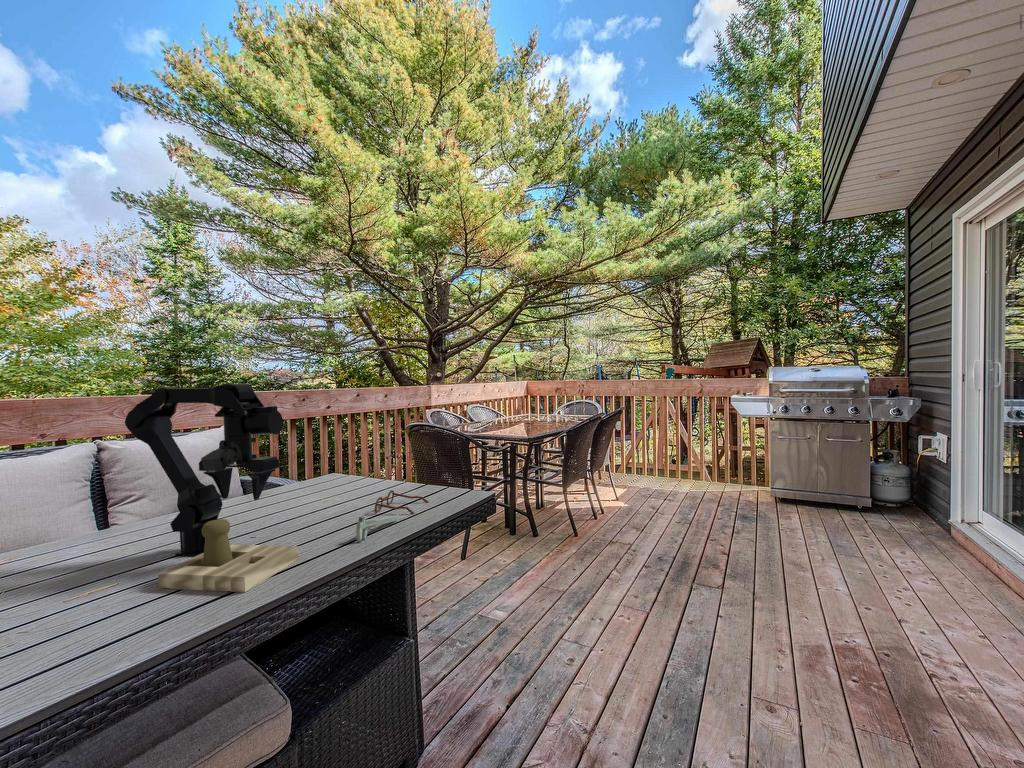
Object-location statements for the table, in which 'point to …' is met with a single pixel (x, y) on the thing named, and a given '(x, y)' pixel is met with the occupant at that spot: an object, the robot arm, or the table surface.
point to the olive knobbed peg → (216, 543)
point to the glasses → (392, 500)
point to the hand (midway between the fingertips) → (240, 498)
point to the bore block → (230, 569)
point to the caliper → (371, 525)
